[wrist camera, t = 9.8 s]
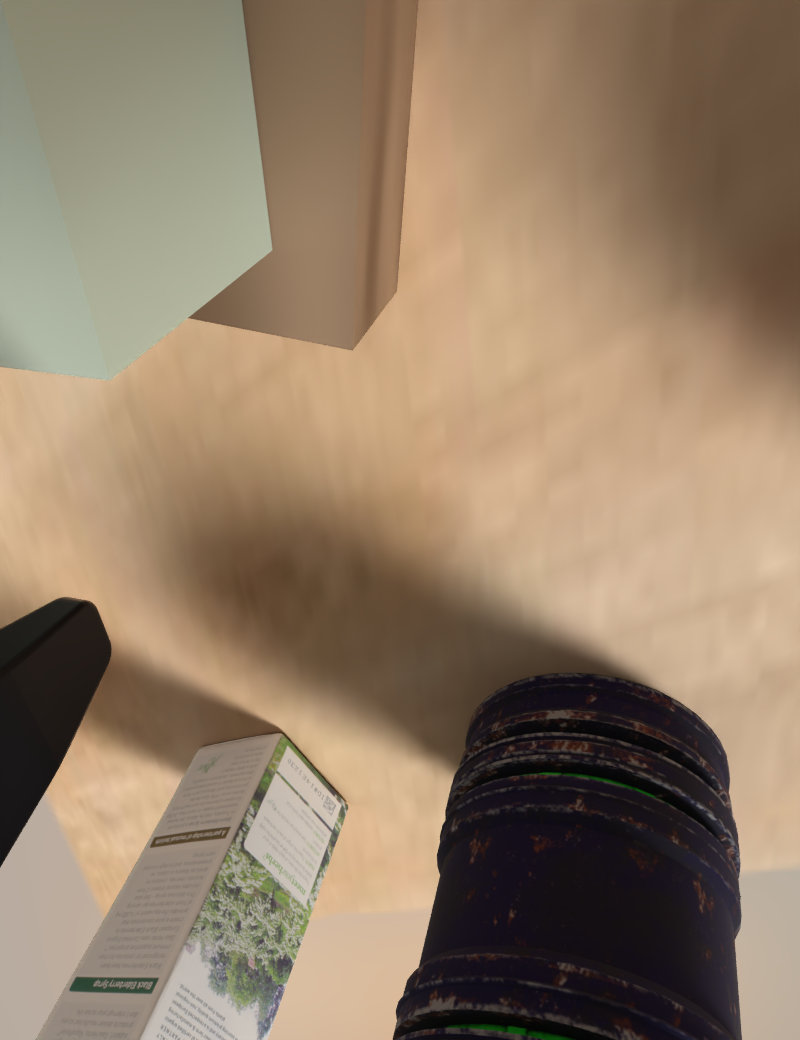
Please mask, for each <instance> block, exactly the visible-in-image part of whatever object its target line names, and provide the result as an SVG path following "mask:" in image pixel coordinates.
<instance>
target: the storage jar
mask: <svg viewBox="0 0 800 1040" xmlns="http://www.w3.org/2000/svg"><path fill="white" fill-rule="evenodd" d="M729 784H730V777H729V766H728V761H727V756H726V753H725V751H724V748H723V746H722V744H721V742H720V740H719V739H718V737H717V736H716V735H715V733H714V732H713V731H712V729H711V728H710V727H709V726H708V725H707V724H706V723H705V722H704V721H703V720H702V719H701V718H700V717H699V716H698V715H697V714H695V713H694V712H692V711H691V710H690V709H688V708H687V707H685V706H684V705H683V704H681V703H679V702H678V701H676V700H674V699H672V698H670V697H668V696H666V695H665V694H663V693H661V692H658V691H655V690H653V689H650V688H648V687H645V686H643V685H640V684H637V683H633V682H630V681H626V680H622V679H619V678H613V677H607V676H602V675H595V674H580V673H562V674H549V675H542V676H536V677H531V678H527V679H524V680H521V681H517V682H514V683H512V684H510V685H508V686H505V687H503V688H501V689H499V690H498V691H496V692H495V693H493V694H492V695H491V696H489V697H488V698H487V699H486V700H485V701H484V702H483V703H482V704H481V705H480V706H479V707H478V708H477V710H476V712H475V713H474V715H473V717H472V719H471V722H470V726H469V730H468V734H467V738H466V750H465V752H464V753H463V756H462V759H461V763H460V767H459V769H458V770H457V772H456V774H455V776H454V779H453V783H452V786H451V791H450V794H449V798H448V803H447V807H446V811H445V814H446V821H445V822H444V824H443V826H442V830H441V834H440V845H439V849H438V853H437V866H438V870H439V873H440V879H439V883H438V887H437V892H436V896H435V900H434V904H433V909H432V913H431V918H430V922H429V926H428V930H427V935H426V939H425V943H424V947H423V952H422V956H421V960H420V964H419V968H418V969H416V970H415V971H414V972H413V974H412V975H411V976H410V977H409V979H408V980H407V983H406V987H405V991H404V995H403V997H402V998H401V999H400V1000H399V1002H398V1005H397V1009H396V1016H397V1023H396V1028H395V1032H394V1036H393V1040H742V1035H741V1022H740V1009H739V995H738V981H737V967H736V953H735V938H736V936H737V934H738V932H739V930H740V925H741V906H740V897H741V896H740V892H739V882H738V878H739V873H740V857H739V856H740V853H739V843H738V833H737V828H736V823H735V820H734V818H733V813H732V806H731V800H730V795H729Z"/></svg>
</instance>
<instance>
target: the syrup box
mask: <svg viewBox="0 0 800 1040" xmlns="http://www.w3.org/2000/svg"><path fill="white" fill-rule="evenodd" d="M347 810H348V805H347V804H346V803H345V801H344V800H343V799H342V798H341V797H340V796H339V795H338V794H337V793H336V792H335V791H334V789H333V788H332V787H331V786H330V785H329V784H328V783H327V782H326V781H325V780H324V779H323V777H322V776H321V775H320V774H319V773H318V772H317V771H316V770H315V769H314V767H313V766H312V765H311V764H310V763H309V762H308V761H307V760H306V759H305V758H304V757H303V755H302V754H301V753H300V752H299V751H298V750H297V749H296V748H295V747H294V746H293V744H292V743H291V742H290V741H289V740H288V739H287V738H286V737H285V736H284V735H283V734H281V733H276V734H268V735H261V736H254V737H249V738H244V739H239V740H234V741H229V742H224V743H219V744H214V745H209V746H205V747H201V748H200V749H199V750H198V751H197V753H196V754H195V756H194V758H193V760H192V762H191V764H190V765H189V767H188V769H187V771H186V773H185V775H184V777H183V778H182V780H181V782H180V784H179V786H178V788H177V790H176V792H175V794H174V796H173V798H172V799H171V801H170V803H169V805H168V807H167V809H166V811H165V812H164V814H163V816H162V818H161V819H160V821H159V823H158V825H157V827H156V828H155V830H154V832H153V834H152V836H151V837H150V839H149V841H148V843H147V844H146V846H145V848H144V850H143V852H142V853H141V855H140V857H139V859H138V861H137V862H136V864H135V866H134V868H133V869H132V871H131V873H130V875H129V876H128V878H127V880H126V882H125V884H124V885H123V887H122V889H121V891H120V893H119V894H118V896H117V898H116V900H115V901H114V903H113V905H112V907H111V908H110V910H109V912H108V914H107V915H106V917H105V919H104V921H103V922H102V924H101V926H100V928H99V929H98V931H97V933H96V935H95V936H94V938H93V940H92V942H91V943H90V945H89V947H88V949H87V951H86V952H85V954H84V956H83V957H82V959H81V961H80V963H79V964H78V966H77V968H76V970H75V971H74V973H73V975H72V976H71V978H70V980H69V981H68V983H67V985H66V987H65V988H64V990H63V992H62V994H61V996H60V997H59V999H58V1001H57V1003H56V1004H55V1006H54V1008H53V1010H52V1012H51V1013H50V1015H49V1017H48V1019H47V1021H46V1022H45V1024H44V1025H43V1027H42V1029H41V1031H40V1033H39V1035H38V1036H37V1038H36V1040H267V1039H268V1036H269V1034H270V1031H271V1028H272V1025H273V1022H274V1019H275V1016H276V1013H277V1010H278V1007H279V1005H280V1002H281V999H282V996H283V993H284V990H285V987H286V984H287V982H288V978H289V975H290V972H291V970H292V967H293V965H294V962H295V959H296V956H297V953H298V951H299V948H300V945H301V942H302V940H303V937H304V933H305V930H306V927H307V925H308V922H309V919H310V916H311V913H312V910H313V907H314V904H315V902H316V899H317V896H318V893H319V890H320V887H321V884H322V881H323V879H324V876H325V873H326V871H327V867H328V864H329V862H330V859H331V856H332V853H333V850H334V847H335V844H336V841H337V838H338V836H339V833H340V830H341V828H342V825H343V822H344V818H345V816H346V813H347Z"/></svg>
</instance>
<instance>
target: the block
mask: <svg viewBox="0 0 800 1040" xmlns="http://www.w3.org/2000/svg"><path fill="white" fill-rule="evenodd" d="M242 7H243V15H244V23H245V31H246V39H247V47H248V55H249V64H250V72H251V80H252V88H253V96H254V104H255V112H256V120H257V128H258V136H259V144H260V153H261V161H262V169H263V177H264V185H265V193H266V201H267V209H268V217H269V225H270V233H271V241H272V251H271V252H270V253H268V254H267V255H266V256H265V257H263V258H262V259H261V260H260V261H258V262H257V263H256V264H255V265H253V266H252V267H251V268H250V269H248V270H247V271H246V272H245V273H243V274H242V275H241V276H240V277H238V278H237V279H236V280H235V281H233V282H232V283H231V284H230V285H228V286H227V287H226V288H225V289H223V290H222V291H221V292H220V293H218V294H217V295H216V296H215V297H213V298H212V299H211V300H210V301H208V302H207V303H206V304H205V305H204V306H202V307H201V308H200V309H199V310H197V311H196V312H195V313H194V314H192V315H191V316H190V317H189V318H191V319H196V320H201V321H206V322H211V323H216V324H221V325H226V326H231V327H236V328H241V329H247V330H252V331H257V332H262V333H267V334H272V335H277V336H282V337H287V338H292V339H297V340H302V341H307V342H312V343H317V344H323V345H328V346H333V347H338V348H343V349H348V350H353V349H354V348H355V347H356V345H357V344H358V343H359V341H360V340H361V339H362V337H363V336H364V335H365V333H366V332H367V330H368V329H369V328H370V326H371V325H372V324H373V322H374V321H375V320H376V318H377V317H378V316H379V314H380V313H381V312H382V310H383V309H384V308H385V306H386V305H387V304H388V302H389V301H390V300H391V298H392V297H393V296H394V294H395V293H396V292H397V282H398V268H399V255H400V241H401V228H402V214H403V201H404V187H405V174H406V160H407V147H408V133H409V120H410V106H411V93H412V79H413V66H414V52H415V38H416V25H417V11H418V0H242Z"/></svg>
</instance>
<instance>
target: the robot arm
mask: <svg viewBox="0 0 800 1040" xmlns="http://www.w3.org/2000/svg"><path fill="white" fill-rule="evenodd" d="M111 650H112V649H111V642H110V640H109V637H108V635H107V632H106V630H105V627H104V625H103V622H102V620H101V617H100V615H99V612H98V610H97V608H96V606H95V605H94V604H93V603H92V602H90V601H87V600H81V599H76V598H70V597H62V598H58V599H56V600H54V601H52V602H50V603H48V604H46V605H45V606H43V607H41V608H39V609H37V610H35V611H33V612H31V613H30V614H28V615H26V616H24V617H22V618H20V619H18V620H16V621H15V622H13V623H11V624H9V625H7V626H5V627H3V628H1V629H0V867H1V865H2V864H3V862H4V860H5V858H6V857H7V855H8V853H9V852H10V850H11V848H12V847H13V845H14V843H15V841H16V840H17V838H18V837H19V835H20V833H21V832H22V830H23V828H24V827H25V825H26V823H27V822H28V820H29V818H30V816H31V815H32V813H33V811H34V810H35V808H36V806H37V805H38V803H39V801H40V800H41V798H42V796H43V795H44V793H45V791H46V790H47V788H48V786H49V785H50V783H51V781H52V779H53V778H54V776H55V774H56V772H57V770H58V769H59V767H60V765H61V763H62V761H63V759H64V757H65V755H66V753H67V751H68V749H69V747H70V745H71V743H72V741H73V739H74V736H75V734H76V732H77V730H78V728H79V726H80V724H81V721H82V719H83V717H84V715H85V713H86V711H87V709H88V706H89V704H90V702H91V700H92V698H93V696H94V694H95V692H96V689H97V687H98V685H99V683H100V681H101V679H102V677H103V674H104V672H105V670H106V668H107V666H108V664H109V661H110V657H111Z"/></svg>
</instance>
